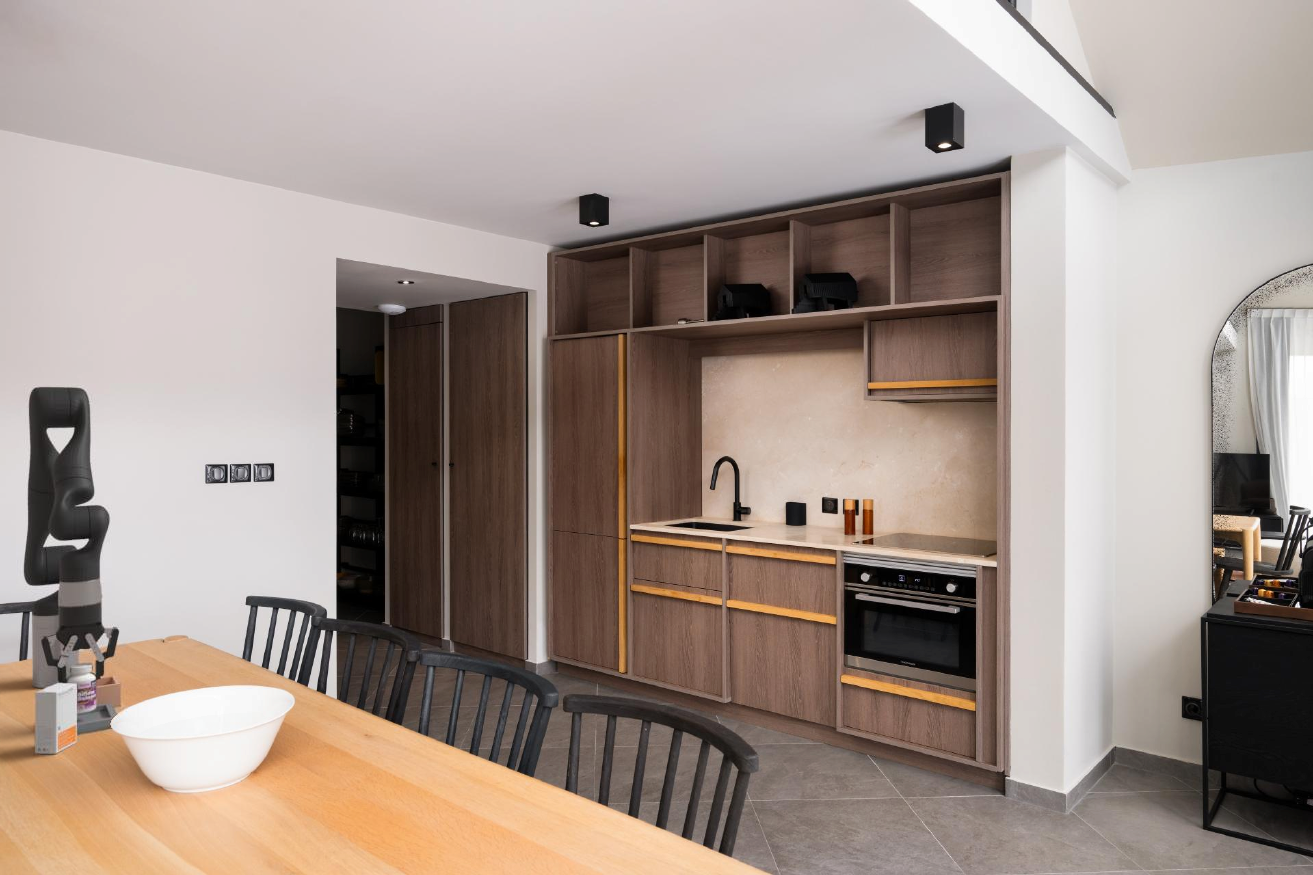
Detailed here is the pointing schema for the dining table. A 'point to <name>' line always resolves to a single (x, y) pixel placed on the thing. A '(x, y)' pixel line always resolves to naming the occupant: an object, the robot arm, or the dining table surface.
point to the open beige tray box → (108, 691)
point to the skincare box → (55, 718)
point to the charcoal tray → (96, 719)
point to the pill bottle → (84, 686)
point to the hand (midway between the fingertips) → (81, 680)
